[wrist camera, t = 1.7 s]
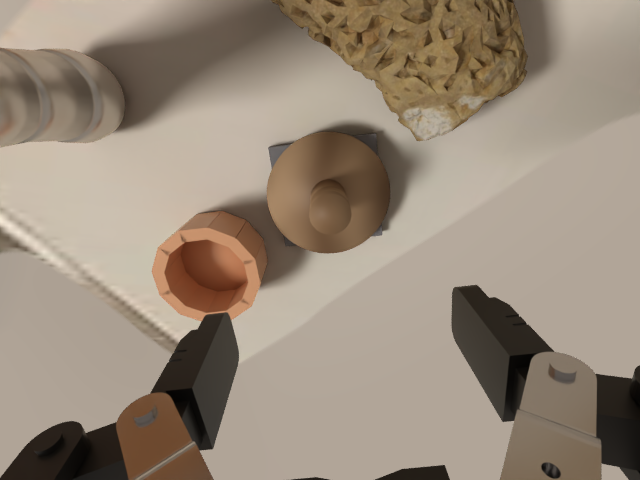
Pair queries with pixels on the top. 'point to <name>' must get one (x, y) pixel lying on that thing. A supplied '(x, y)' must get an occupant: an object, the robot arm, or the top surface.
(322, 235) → the lid
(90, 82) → the plastic bottle
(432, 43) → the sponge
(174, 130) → the top surface
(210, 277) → the bowl
